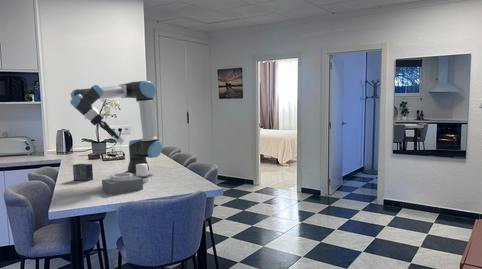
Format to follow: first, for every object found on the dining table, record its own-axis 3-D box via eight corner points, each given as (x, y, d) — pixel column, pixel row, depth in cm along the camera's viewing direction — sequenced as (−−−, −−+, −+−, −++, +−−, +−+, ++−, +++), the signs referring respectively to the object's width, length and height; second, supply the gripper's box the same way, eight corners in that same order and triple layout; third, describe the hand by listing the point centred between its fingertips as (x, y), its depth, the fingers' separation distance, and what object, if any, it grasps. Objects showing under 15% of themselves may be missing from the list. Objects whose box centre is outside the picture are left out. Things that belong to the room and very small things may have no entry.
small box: (93, 179, 227) (92, 163, 226) (86, 181, 220) (85, 165, 220) (80, 178, 230) (79, 163, 229) (73, 180, 223) (72, 164, 222)
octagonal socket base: (132, 185, 207) (132, 171, 207) (143, 189, 197) (142, 174, 196) (102, 190, 196) (101, 175, 195) (111, 194, 185) (110, 179, 184)
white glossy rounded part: (145, 180, 221) (144, 163, 220) (150, 181, 215) (149, 164, 214) (134, 181, 216) (133, 164, 215) (139, 183, 211) (138, 165, 210)
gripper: (89, 121, 214) (114, 144, 221) (90, 121, 192) (118, 147, 198) (98, 112, 216) (123, 136, 223) (100, 111, 194) (128, 138, 200)
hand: (121, 141), depth 211 cm, fingers open, 13 cm apart
